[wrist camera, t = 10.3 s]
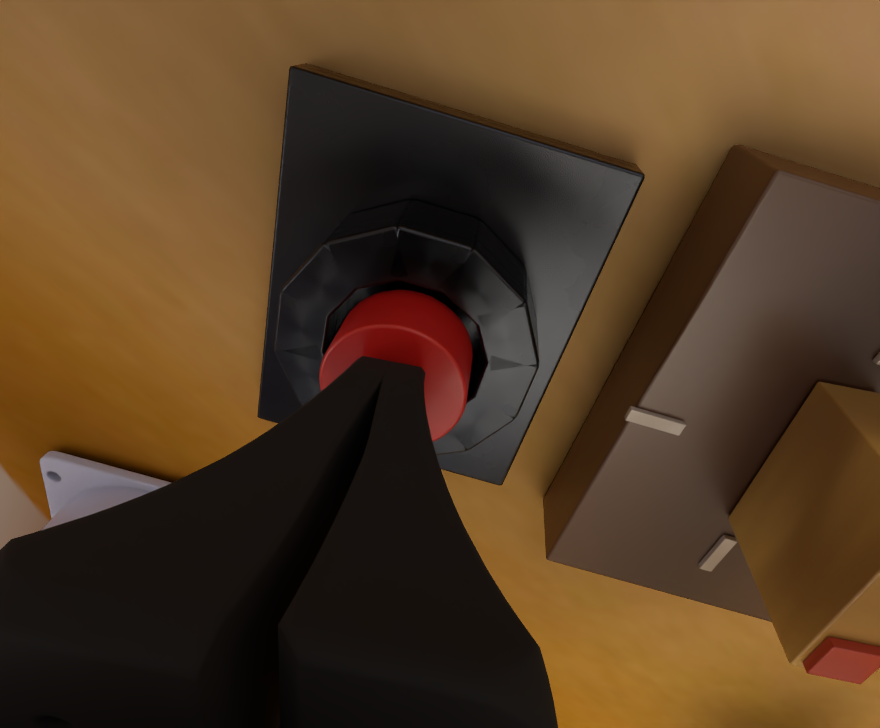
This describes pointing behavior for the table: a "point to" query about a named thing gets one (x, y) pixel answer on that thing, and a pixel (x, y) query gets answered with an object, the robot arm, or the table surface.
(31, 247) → the table surface
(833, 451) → the tan rectangular block
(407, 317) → the bell button
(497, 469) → the bell push
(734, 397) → the plate
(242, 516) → the robot arm
